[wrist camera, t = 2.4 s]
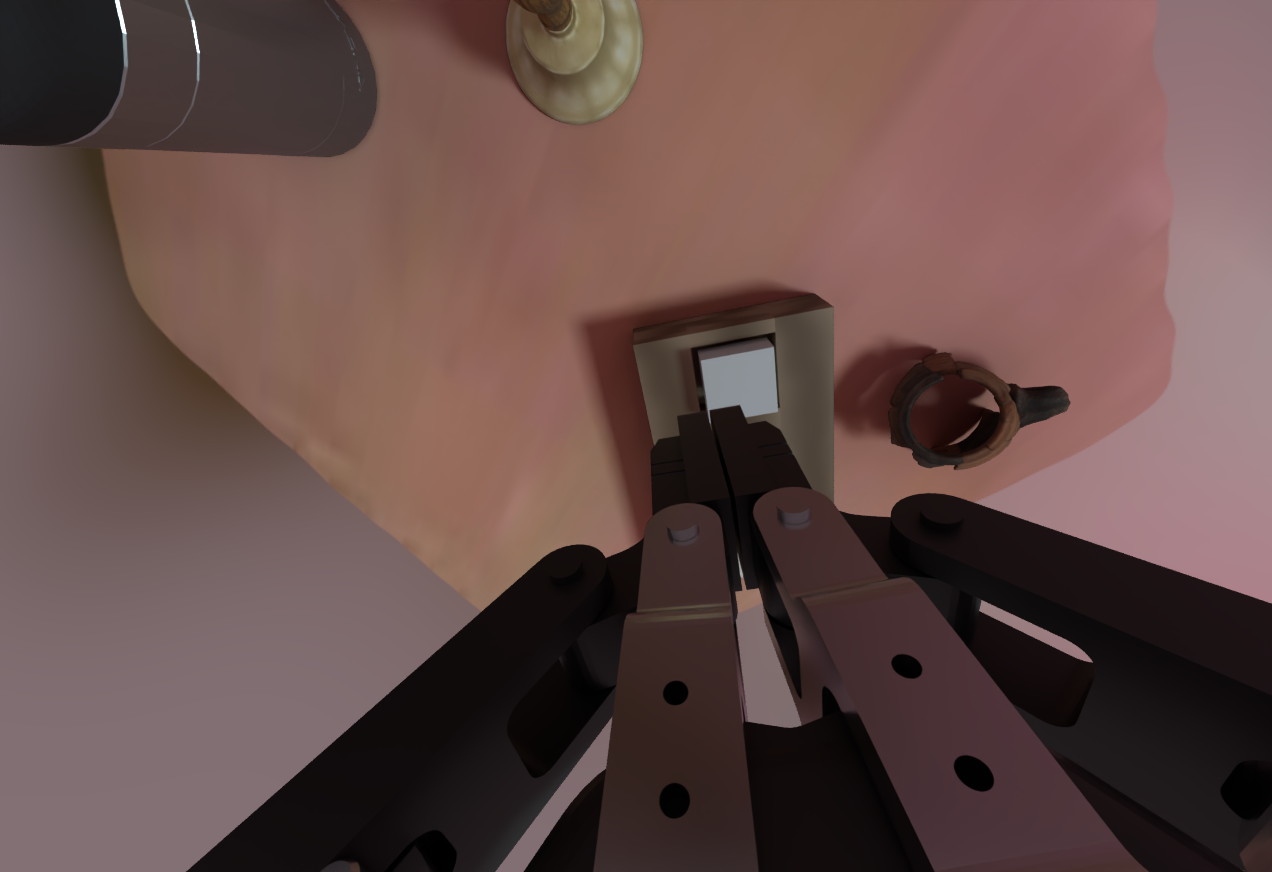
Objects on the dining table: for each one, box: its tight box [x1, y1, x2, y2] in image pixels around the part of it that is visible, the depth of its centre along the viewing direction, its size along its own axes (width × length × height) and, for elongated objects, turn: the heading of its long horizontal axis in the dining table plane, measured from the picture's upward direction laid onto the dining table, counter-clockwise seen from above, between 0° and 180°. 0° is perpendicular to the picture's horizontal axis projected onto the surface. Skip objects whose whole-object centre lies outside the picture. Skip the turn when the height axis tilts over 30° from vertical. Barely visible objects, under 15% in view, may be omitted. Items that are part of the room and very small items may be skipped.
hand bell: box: [506, 0, 643, 125], centre depth 22 cm, size 8×8×16 cm
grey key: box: [698, 337, 778, 423], centre depth 35 cm, size 5×5×2 cm
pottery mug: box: [888, 352, 1070, 470], centre depth 38 cm, size 12×9×8 cm
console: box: [633, 294, 834, 503], centre depth 41 cm, size 14×24×4 cm, turn 11°
